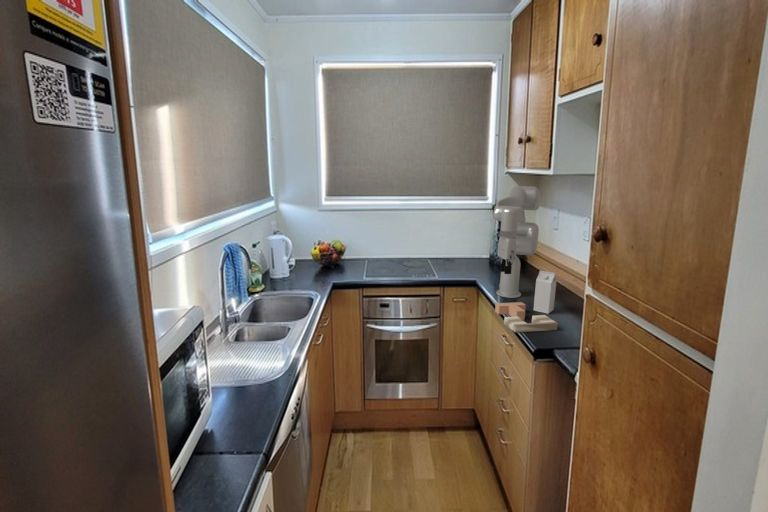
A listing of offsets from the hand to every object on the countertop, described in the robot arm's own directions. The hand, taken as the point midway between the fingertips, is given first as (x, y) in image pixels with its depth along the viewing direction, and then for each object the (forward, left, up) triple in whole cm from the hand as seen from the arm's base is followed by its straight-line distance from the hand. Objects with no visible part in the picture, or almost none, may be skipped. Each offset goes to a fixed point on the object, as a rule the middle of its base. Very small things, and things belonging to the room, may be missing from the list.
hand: (505, 272), depth 207 cm
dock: (+26, 0, -17) cm, 31 cm away
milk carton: (+8, +17, -17) cm, 25 cm away
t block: (+12, 0, -17) cm, 21 cm away
